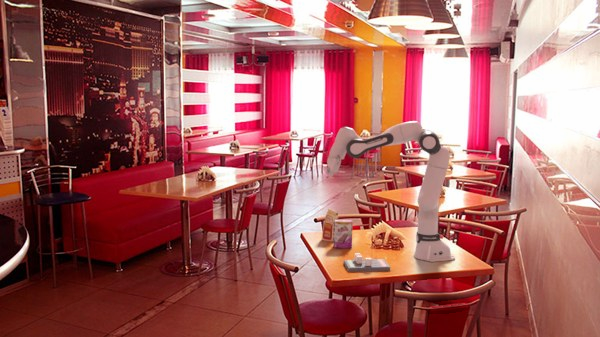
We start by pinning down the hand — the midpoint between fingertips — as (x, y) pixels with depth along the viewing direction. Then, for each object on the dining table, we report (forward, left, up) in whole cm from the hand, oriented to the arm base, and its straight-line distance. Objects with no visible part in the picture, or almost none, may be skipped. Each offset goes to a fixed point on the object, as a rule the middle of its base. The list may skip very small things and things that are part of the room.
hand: (328, 175), depth 306 cm
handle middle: (-12, +31, -43) cm, 54 cm away
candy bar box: (-10, -8, -45) cm, 47 cm away
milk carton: (-6, -27, -45) cm, 53 cm away
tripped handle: (-16, +35, -43) cm, 58 cm away
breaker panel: (-16, +31, -45) cm, 57 cm away
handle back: (-12, +26, -43) cm, 52 cm away
